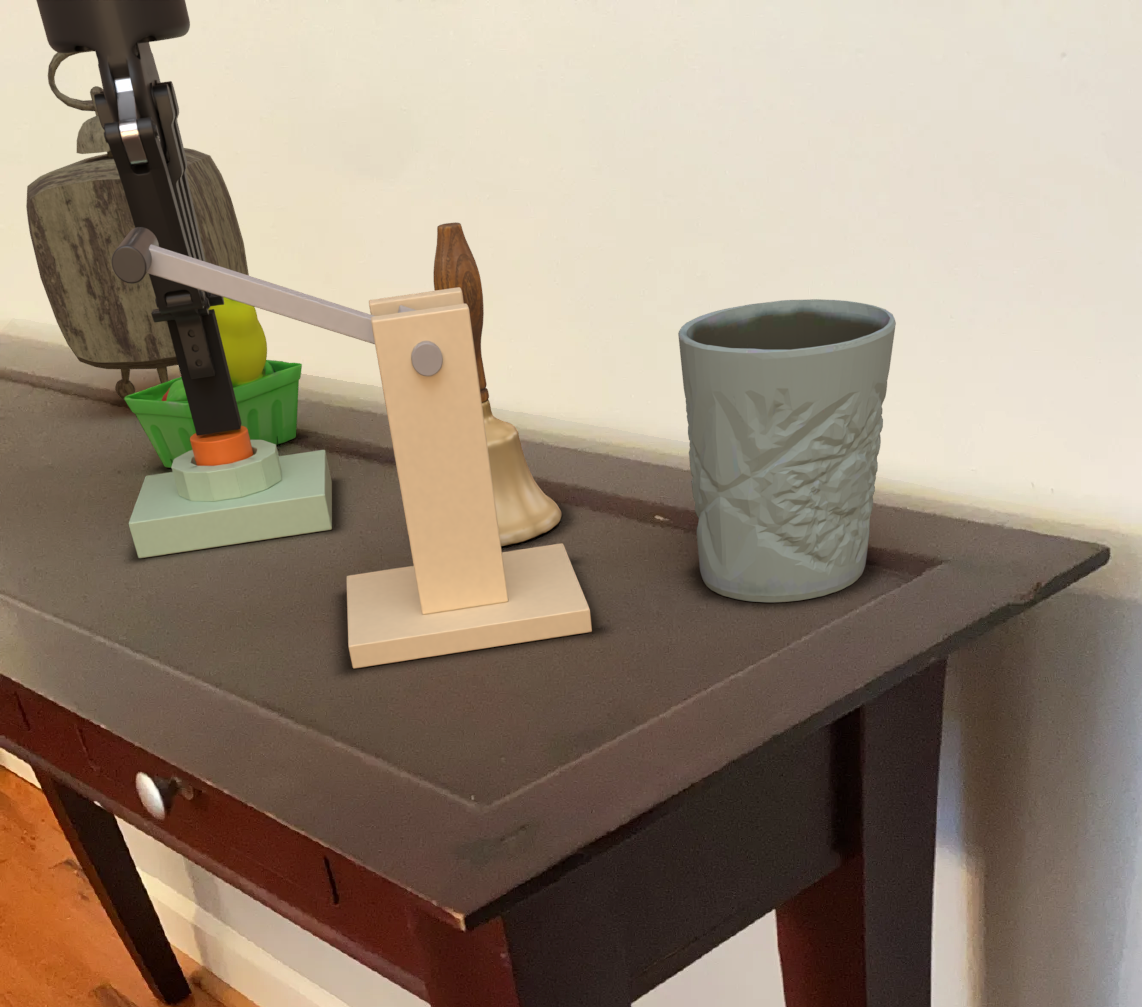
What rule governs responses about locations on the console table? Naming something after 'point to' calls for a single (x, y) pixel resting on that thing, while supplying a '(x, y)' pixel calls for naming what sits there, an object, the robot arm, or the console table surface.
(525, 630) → the lever bracket
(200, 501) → the button block
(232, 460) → the orange push button
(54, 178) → the tabletop clock
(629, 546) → the console table surface
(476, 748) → the console table surface
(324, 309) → the press lever
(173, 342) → the robot arm
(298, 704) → the console table surface
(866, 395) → the drinking glass
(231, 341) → the fruit basket
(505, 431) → the hand bell
